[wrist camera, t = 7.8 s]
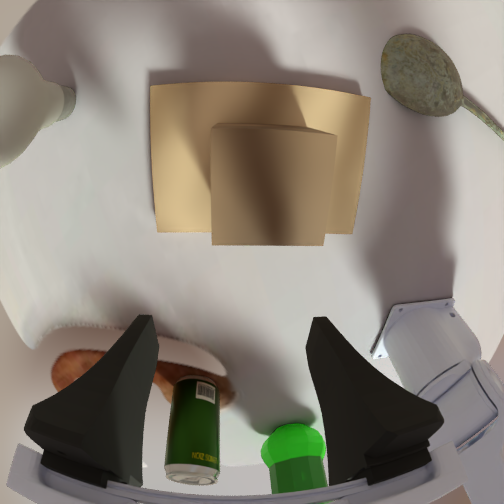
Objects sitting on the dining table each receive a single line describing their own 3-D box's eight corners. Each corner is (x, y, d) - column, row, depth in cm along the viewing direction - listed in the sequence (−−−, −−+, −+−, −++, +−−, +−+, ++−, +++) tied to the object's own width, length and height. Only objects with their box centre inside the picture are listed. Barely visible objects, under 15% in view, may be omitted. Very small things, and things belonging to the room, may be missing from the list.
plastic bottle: (333, 414, 36) (368, 557, 14) (305, 441, 41) (326, 561, 19) (271, 414, 34) (292, 578, 12) (250, 441, 39) (262, 572, 17)
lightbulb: (49, 154, 16) (-55, 207, 7) (32, 87, 13) (-75, 103, 4) (111, 123, 16) (1, 153, 6) (93, 49, 13) (-15, 26, 3)
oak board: (363, 97, 16) (370, 97, 15) (346, 227, 21) (352, 234, 20) (155, 87, 15) (150, 85, 14) (161, 225, 20) (157, 232, 19)
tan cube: (307, 126, 16) (337, 135, 11) (299, 208, 19) (323, 245, 14) (217, 122, 16) (210, 128, 11) (217, 206, 18) (211, 245, 13)
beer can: (180, 368, 28) (168, 469, 17) (226, 380, 29) (228, 478, 19) (169, 391, 30) (159, 479, 20) (211, 401, 31) (210, 487, 21)
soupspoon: (381, 22, 14) (361, 89, 17) (401, 13, 11) (381, 89, 14) (526, 139, 17) (511, 187, 20) (546, 147, 14) (529, 199, 17)
